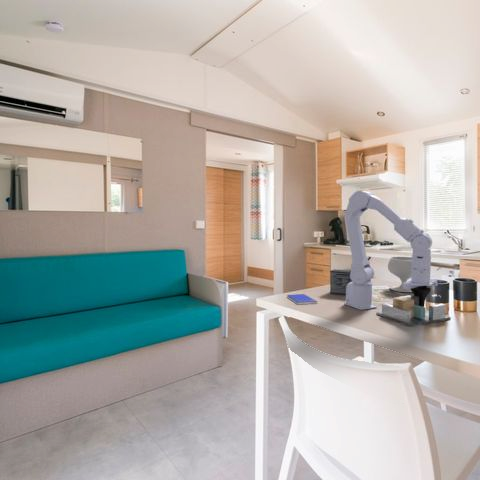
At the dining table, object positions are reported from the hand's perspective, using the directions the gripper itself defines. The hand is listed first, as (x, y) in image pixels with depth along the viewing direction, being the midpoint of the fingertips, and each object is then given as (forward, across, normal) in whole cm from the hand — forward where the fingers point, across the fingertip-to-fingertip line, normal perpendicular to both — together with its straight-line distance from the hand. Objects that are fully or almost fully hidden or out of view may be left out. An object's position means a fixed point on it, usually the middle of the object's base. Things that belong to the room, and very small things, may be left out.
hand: (419, 307), depth 114 cm
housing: (+2, -8, 0) cm, 8 cm away
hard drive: (+4, -26, +35) cm, 43 cm away
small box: (+3, -2, +37) cm, 37 cm away
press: (+3, -3, 0) cm, 4 cm away
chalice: (+3, +28, +31) cm, 42 cm away
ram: (+2, -3, 0) cm, 4 cm away
